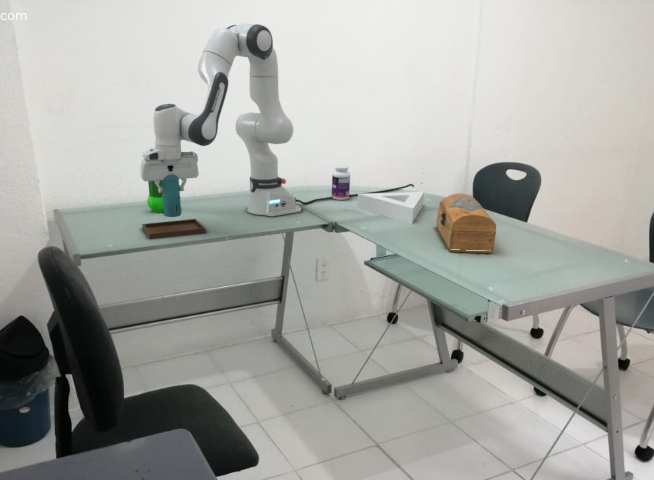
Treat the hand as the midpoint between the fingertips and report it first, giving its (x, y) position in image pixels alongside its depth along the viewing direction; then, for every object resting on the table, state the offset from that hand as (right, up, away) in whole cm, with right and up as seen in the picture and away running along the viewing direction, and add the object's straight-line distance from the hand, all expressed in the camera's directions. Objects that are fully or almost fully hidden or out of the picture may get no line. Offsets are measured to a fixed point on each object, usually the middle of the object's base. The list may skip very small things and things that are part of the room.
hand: (171, 191), depth 217 cm
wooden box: (+105, -17, +2) cm, 107 cm away
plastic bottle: (-11, -2, +31) cm, 33 cm away
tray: (0, -13, +6) cm, 15 cm away
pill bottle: (+64, +7, +56) cm, 86 cm away
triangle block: (+91, -1, +39) cm, 99 cm away
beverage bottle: (0, -9, +4) cm, 10 cm away
